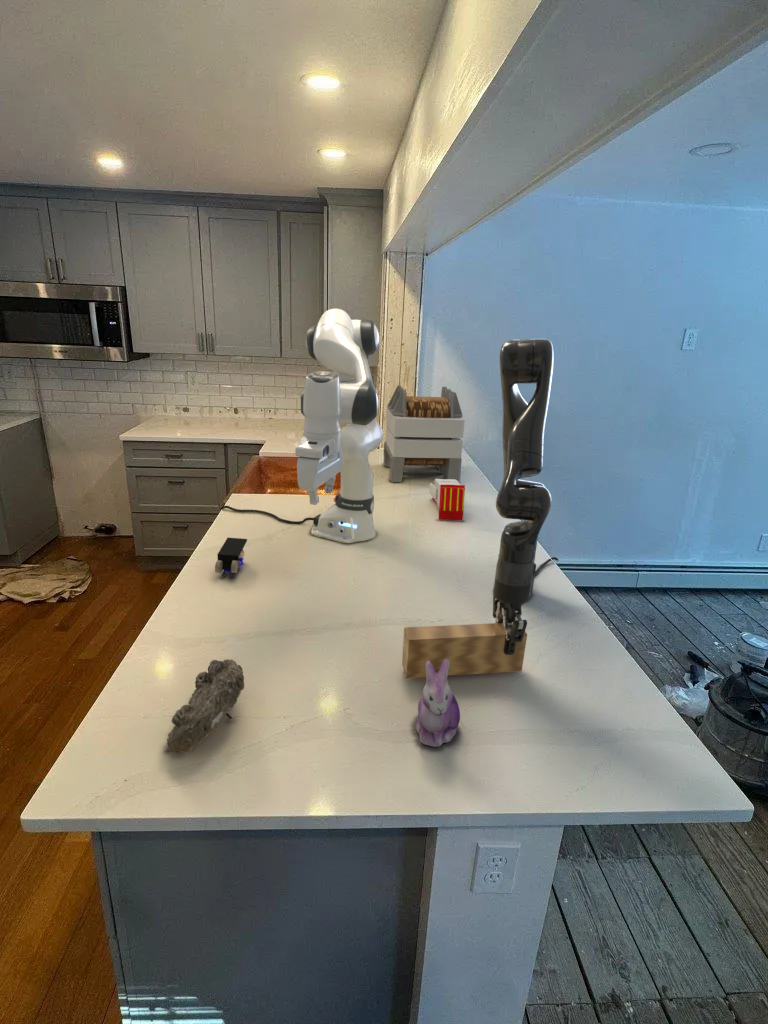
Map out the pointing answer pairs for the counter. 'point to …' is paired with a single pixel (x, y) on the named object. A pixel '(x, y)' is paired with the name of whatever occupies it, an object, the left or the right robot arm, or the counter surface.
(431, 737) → the figurine
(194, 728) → the fossil
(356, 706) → the counter surface
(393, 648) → the counter surface
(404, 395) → the transformer
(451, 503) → the toy
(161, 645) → the counter surface
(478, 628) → the bar
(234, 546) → the figurine character
